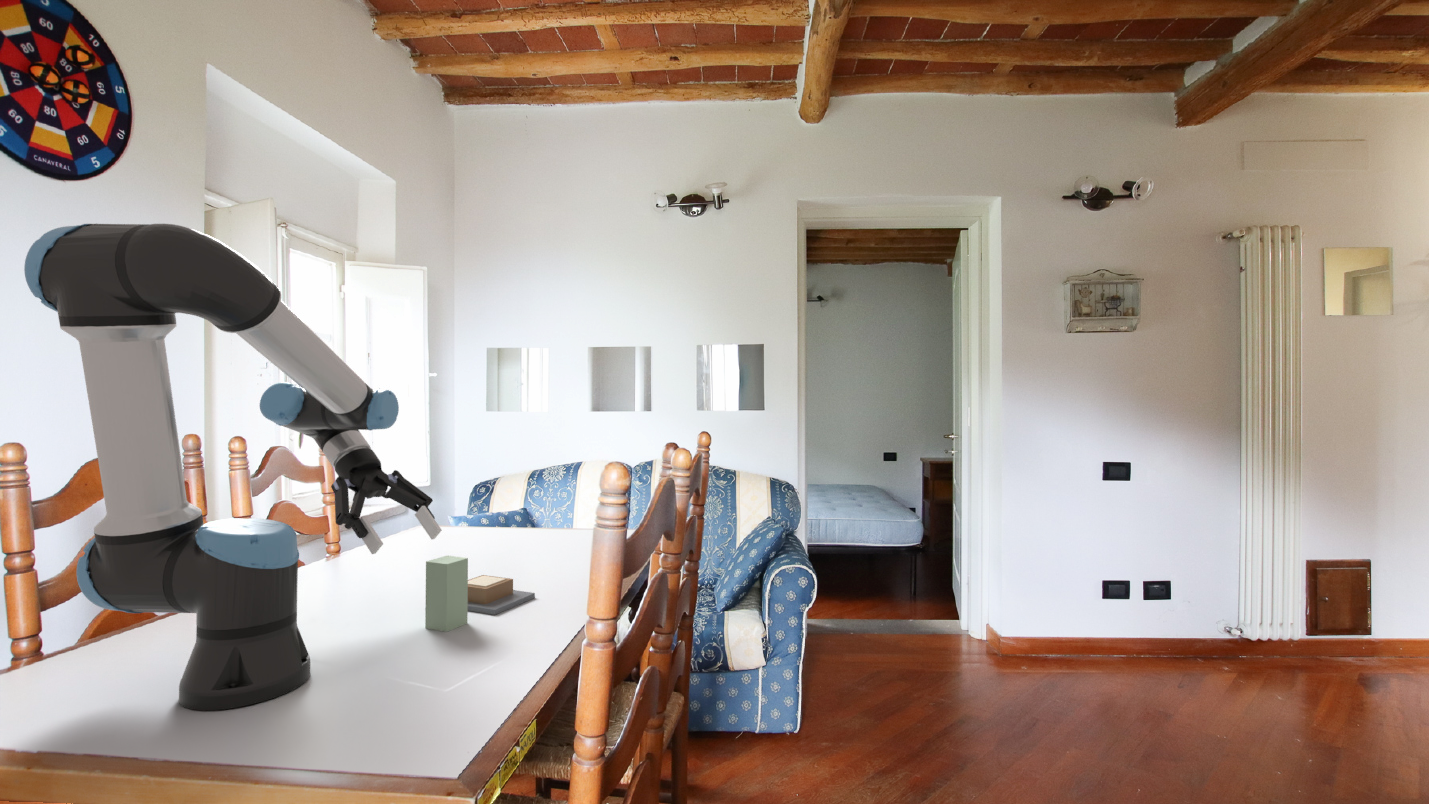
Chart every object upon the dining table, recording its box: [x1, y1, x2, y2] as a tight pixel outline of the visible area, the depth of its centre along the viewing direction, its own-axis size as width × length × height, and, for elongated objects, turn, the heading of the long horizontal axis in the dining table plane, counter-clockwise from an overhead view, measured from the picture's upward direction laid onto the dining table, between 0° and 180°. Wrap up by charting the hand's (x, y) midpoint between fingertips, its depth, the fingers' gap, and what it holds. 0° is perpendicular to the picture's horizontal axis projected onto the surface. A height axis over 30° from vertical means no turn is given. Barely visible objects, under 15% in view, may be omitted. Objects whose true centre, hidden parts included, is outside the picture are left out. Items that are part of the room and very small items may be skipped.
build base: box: [467, 574, 536, 616], centre depth 131 cm, size 12×16×4 cm
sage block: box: [424, 555, 469, 633], centre depth 116 cm, size 5×5×12 cm
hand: (408, 541), depth 120 cm, fingers open, 13 cm apart
